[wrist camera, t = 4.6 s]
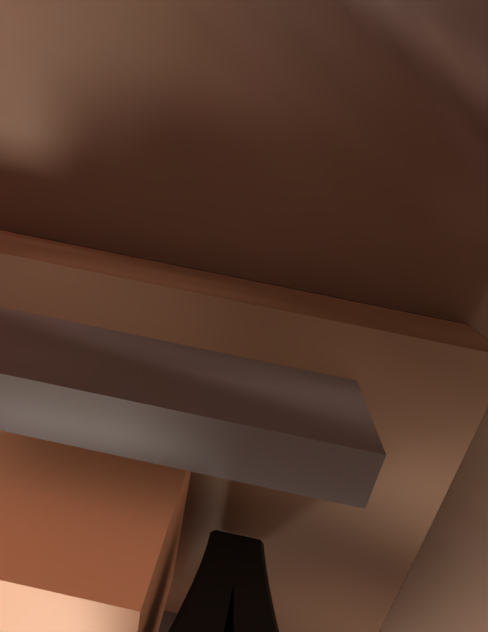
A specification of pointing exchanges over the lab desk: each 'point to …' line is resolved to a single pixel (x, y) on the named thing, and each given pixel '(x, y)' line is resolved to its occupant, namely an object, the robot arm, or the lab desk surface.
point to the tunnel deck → (249, 413)
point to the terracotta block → (85, 538)
